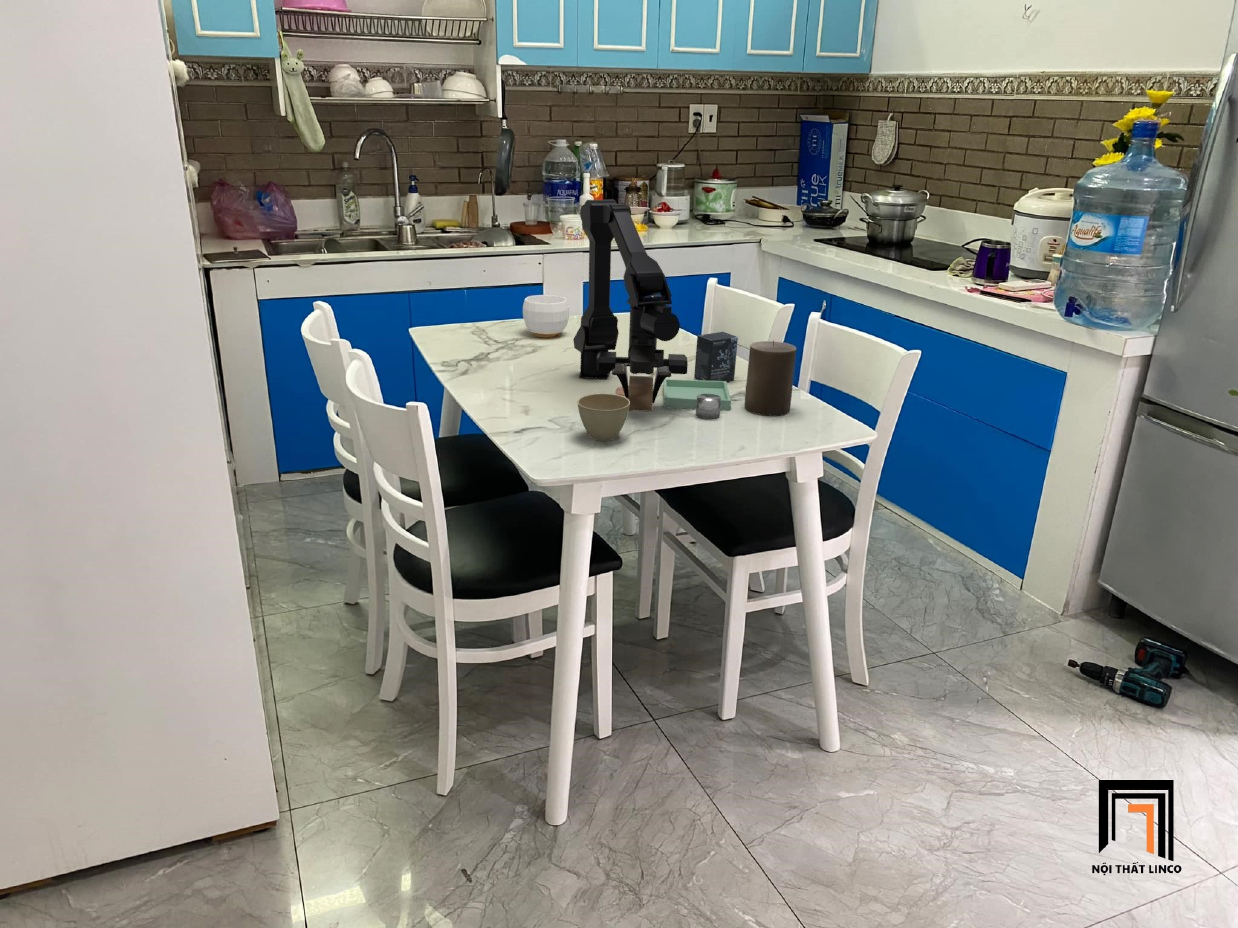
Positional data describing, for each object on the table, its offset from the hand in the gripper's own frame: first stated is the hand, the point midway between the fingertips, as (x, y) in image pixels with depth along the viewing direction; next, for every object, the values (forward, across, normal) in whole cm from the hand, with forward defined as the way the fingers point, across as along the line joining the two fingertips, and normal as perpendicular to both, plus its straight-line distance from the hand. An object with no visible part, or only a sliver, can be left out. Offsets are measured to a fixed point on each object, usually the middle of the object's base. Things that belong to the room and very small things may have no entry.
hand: (640, 402), depth 197 cm
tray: (+1, +12, +7) cm, 14 cm away
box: (+1, +17, +22) cm, 28 cm away
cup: (+1, -26, +58) cm, 64 cm away
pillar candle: (+1, +27, +2) cm, 27 cm away
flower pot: (+1, -7, -19) cm, 20 cm away
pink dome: (+1, -2, +10) cm, 10 cm away
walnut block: (+1, 0, 0) cm, 1 cm away
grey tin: (+1, +14, -4) cm, 15 cm away
